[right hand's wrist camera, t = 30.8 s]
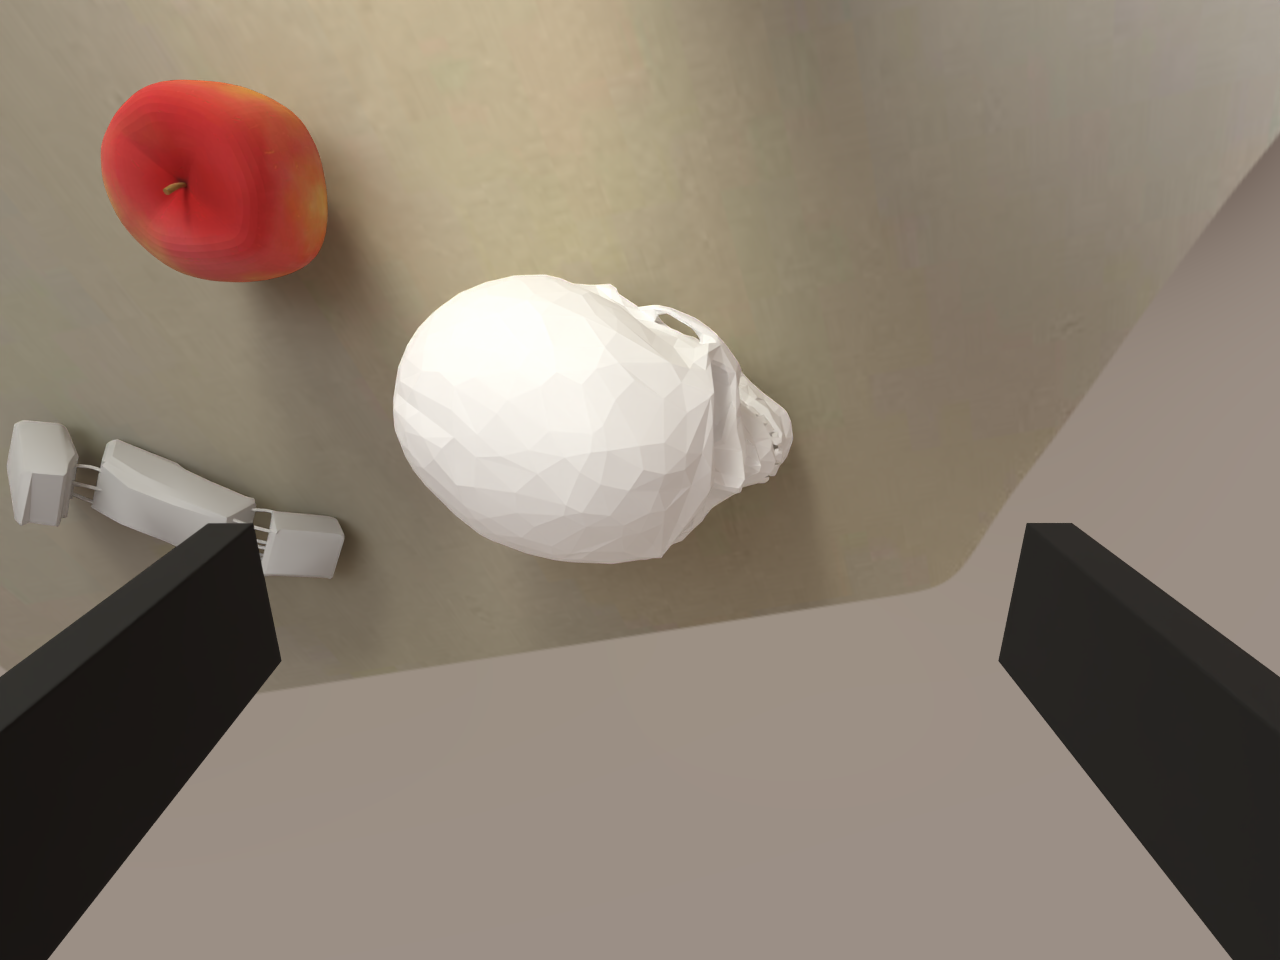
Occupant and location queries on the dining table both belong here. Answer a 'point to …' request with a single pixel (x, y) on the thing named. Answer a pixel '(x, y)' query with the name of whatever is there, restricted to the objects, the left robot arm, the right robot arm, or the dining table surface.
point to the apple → (216, 180)
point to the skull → (579, 419)
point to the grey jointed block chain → (157, 499)
